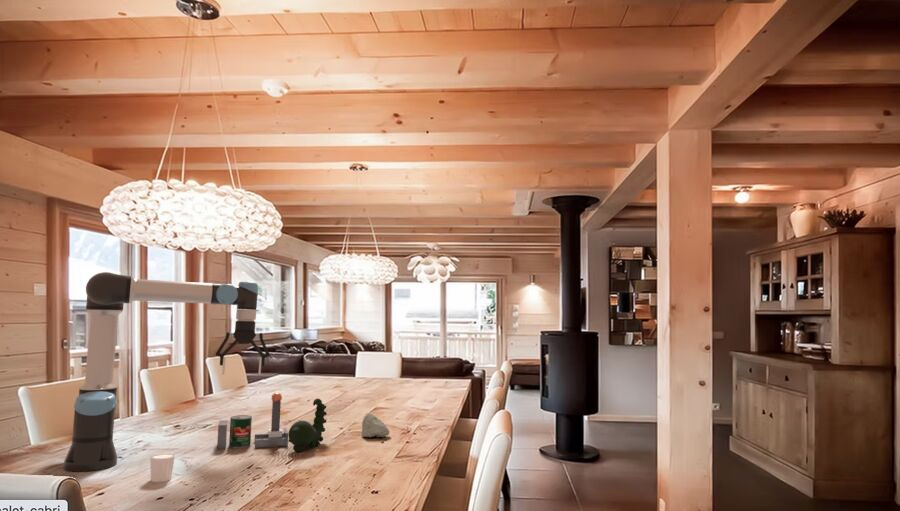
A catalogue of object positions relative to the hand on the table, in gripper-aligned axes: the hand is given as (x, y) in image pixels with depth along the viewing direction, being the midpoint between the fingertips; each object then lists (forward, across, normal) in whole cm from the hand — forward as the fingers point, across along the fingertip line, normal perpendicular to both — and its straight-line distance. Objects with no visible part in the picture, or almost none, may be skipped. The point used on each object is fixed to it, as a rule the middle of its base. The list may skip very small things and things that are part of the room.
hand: (241, 374), depth 230 cm
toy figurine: (+27, -26, +12) cm, 39 cm away
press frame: (+27, -6, +3) cm, 28 cm away
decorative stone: (+26, -55, -1) cm, 61 cm away
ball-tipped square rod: (+26, -14, +3) cm, 30 cm away
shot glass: (+28, +20, +44) cm, 56 cm away
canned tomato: (+27, -2, +3) cm, 27 cm away
